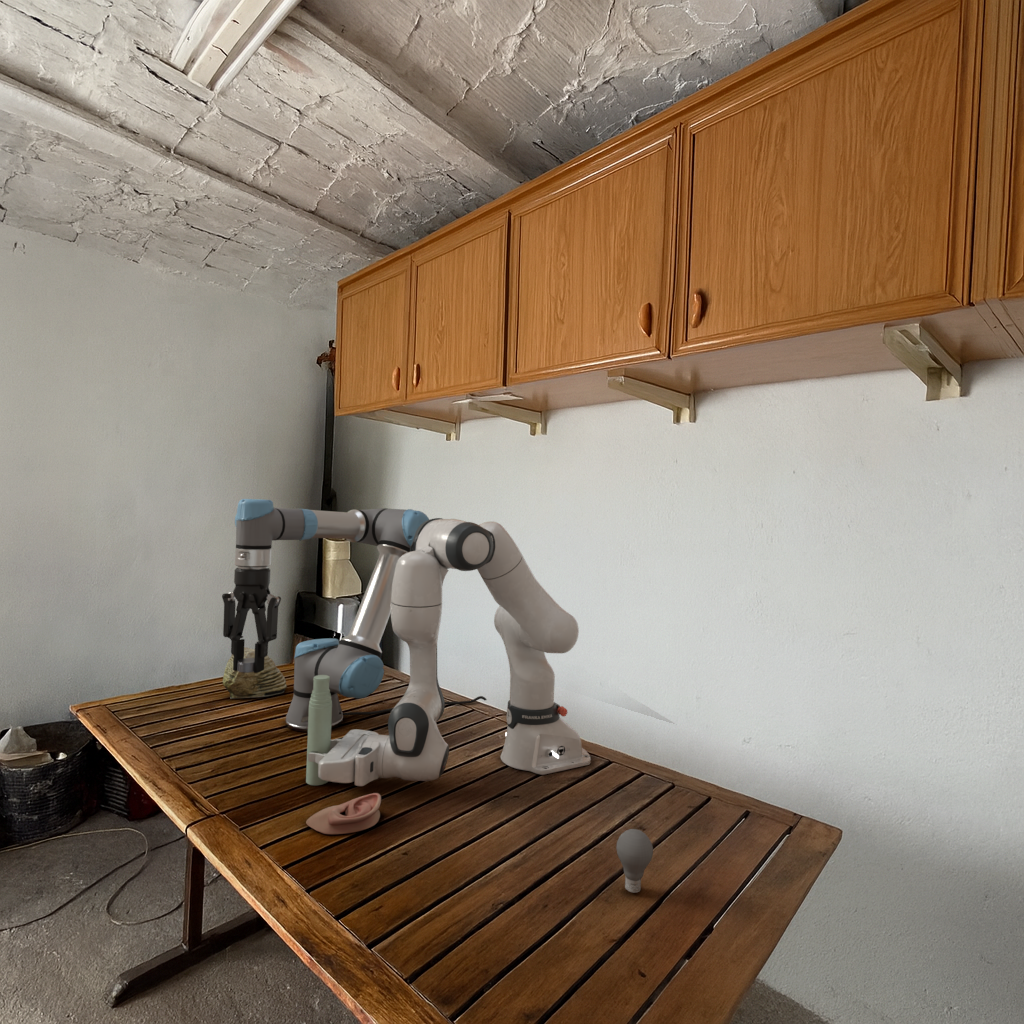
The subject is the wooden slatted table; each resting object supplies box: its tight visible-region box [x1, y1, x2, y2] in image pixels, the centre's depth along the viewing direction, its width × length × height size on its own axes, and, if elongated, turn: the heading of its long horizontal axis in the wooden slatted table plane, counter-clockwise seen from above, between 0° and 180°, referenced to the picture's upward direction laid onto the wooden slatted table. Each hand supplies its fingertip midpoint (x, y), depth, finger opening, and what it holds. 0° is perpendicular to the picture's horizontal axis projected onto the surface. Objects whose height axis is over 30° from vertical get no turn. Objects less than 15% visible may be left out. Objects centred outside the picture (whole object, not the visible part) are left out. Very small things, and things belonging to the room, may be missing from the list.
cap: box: [237, 658, 254, 673], centre depth 143 cm, size 5×5×2 cm
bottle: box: [305, 675, 332, 786], centre depth 141 cm, size 5×5×23 cm
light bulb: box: [615, 828, 654, 894], centre depth 106 cm, size 6×6×10 cm
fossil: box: [222, 646, 288, 699], centre depth 198 cm, size 9×18×15 cm, turn 132°
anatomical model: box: [305, 792, 382, 835], centre depth 124 cm, size 13×4×12 cm
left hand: (248, 669), depth 143 cm, fingers closed on cap, 4 cm apart
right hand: (314, 750), depth 141 cm, fingers closed on bottle, 5 cm apart
